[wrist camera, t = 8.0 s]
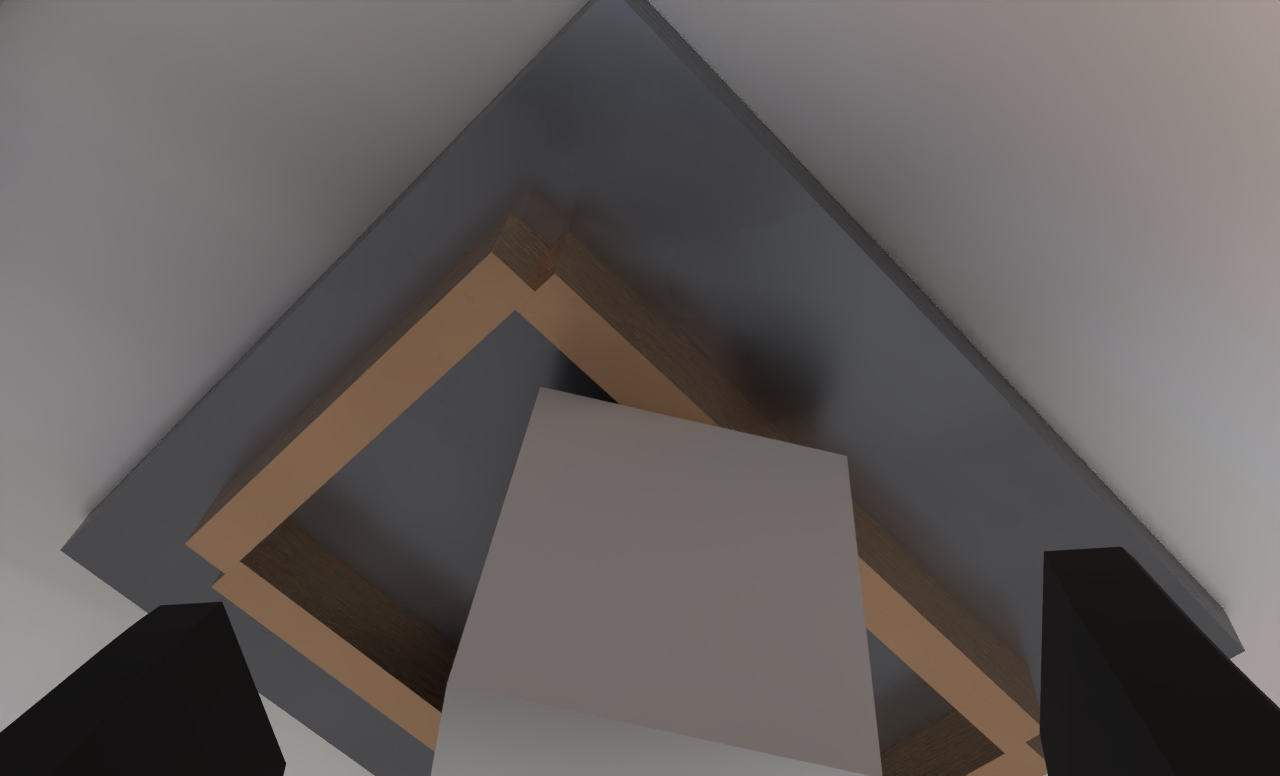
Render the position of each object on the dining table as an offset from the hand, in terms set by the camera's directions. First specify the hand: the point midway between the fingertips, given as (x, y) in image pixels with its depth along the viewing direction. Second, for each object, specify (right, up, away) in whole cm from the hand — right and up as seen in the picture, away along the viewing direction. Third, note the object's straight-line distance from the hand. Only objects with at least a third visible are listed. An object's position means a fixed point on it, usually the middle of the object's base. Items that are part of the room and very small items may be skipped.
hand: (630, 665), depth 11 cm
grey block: (0, -2, +9) cm, 9 cm away
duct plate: (0, -1, +11) cm, 11 cm away
